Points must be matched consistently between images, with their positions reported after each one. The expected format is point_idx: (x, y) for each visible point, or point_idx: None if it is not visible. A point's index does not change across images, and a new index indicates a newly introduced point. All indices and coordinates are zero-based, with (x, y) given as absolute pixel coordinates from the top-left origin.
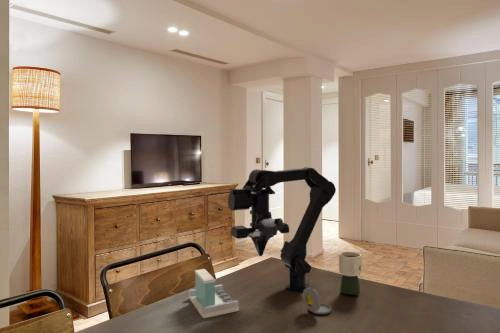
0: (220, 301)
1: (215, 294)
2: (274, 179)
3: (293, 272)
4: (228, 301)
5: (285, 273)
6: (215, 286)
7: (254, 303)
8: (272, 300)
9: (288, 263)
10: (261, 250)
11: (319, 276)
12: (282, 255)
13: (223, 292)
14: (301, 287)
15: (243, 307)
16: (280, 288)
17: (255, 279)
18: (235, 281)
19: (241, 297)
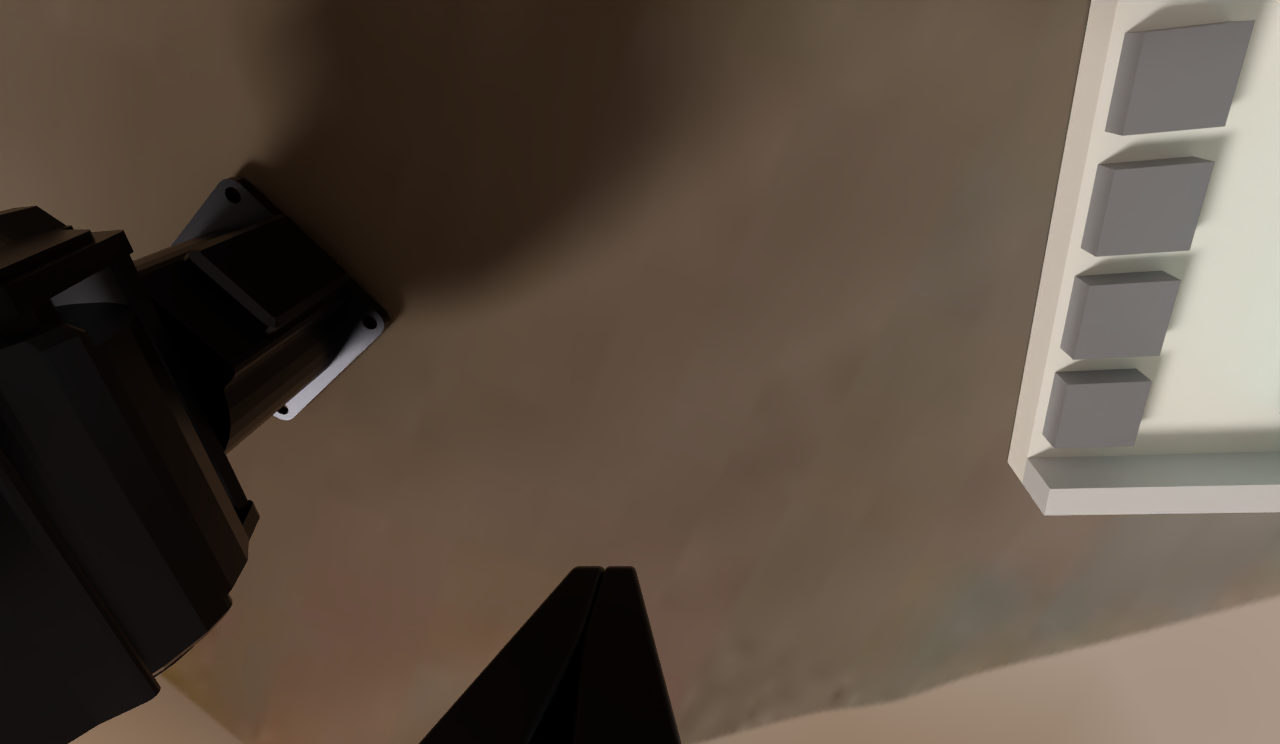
0: (1232, 192)
1: (1158, 389)
2: None
3: (184, 327)
4: (1216, 83)
5: (316, 597)
6: (1137, 490)
7: (825, 92)
8: (605, 97)
9: (142, 380)
10: (571, 681)
11: None
12: (168, 595)
13: (1081, 378)
14: (221, 232)
15: (996, 28)
16: (435, 347)
17: None
18: (773, 613)
19: (883, 293)
